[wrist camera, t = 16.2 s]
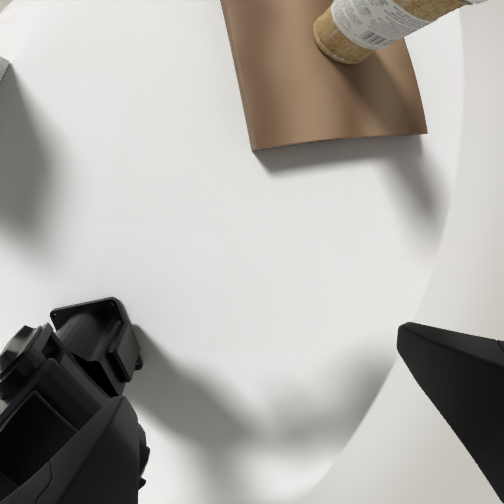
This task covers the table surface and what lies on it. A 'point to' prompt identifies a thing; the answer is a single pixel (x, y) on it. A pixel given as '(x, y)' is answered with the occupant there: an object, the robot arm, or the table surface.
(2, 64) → the supplement box
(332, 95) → the brown wooden square board
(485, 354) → the robot arm
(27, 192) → the table surface
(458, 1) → the sprinkles bottle
